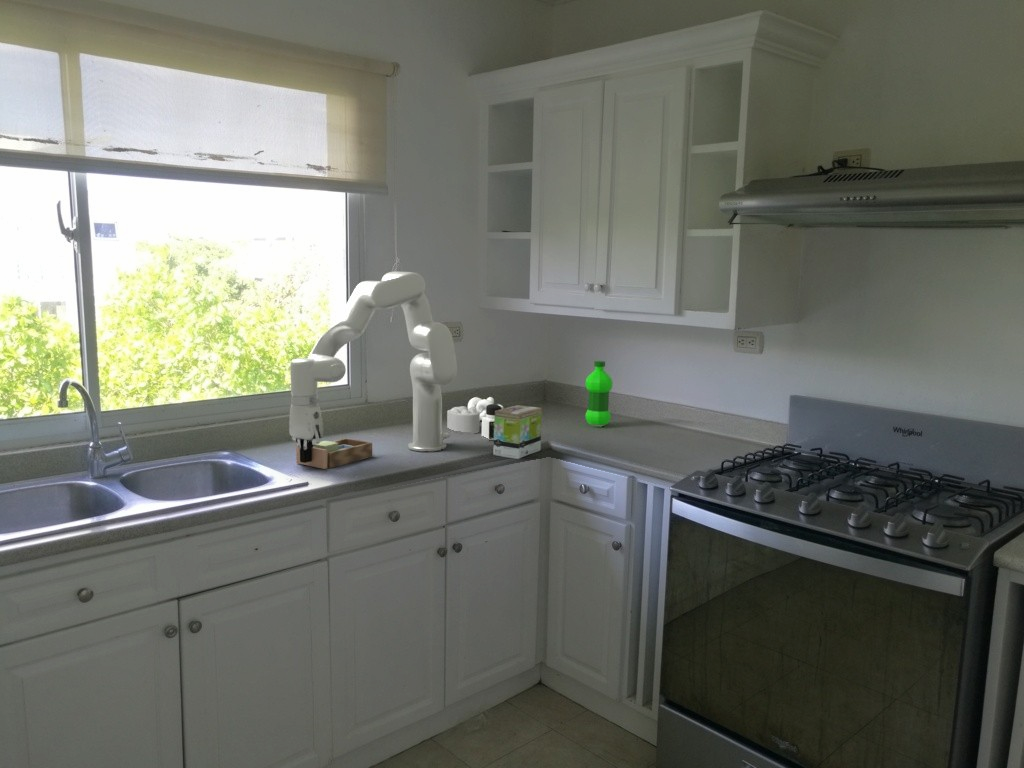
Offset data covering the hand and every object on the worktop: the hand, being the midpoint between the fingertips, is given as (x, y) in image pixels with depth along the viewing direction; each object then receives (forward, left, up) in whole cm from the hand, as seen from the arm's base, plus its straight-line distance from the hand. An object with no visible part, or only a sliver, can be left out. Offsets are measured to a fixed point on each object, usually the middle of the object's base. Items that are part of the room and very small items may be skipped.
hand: (306, 461), depth 234 cm
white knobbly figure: (-92, -3, -2) cm, 92 cm away
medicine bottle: (-68, +20, -2) cm, 71 cm away
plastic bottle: (-110, +39, -2) cm, 117 cm away
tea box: (-54, +39, -2) cm, 67 cm away
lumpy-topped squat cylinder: (-72, +4, -2) cm, 72 cm away
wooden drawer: (-11, 0, -2) cm, 11 cm away
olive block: (-8, 0, 0) cm, 8 cm away
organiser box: (-13, 0, -2) cm, 13 cm away
